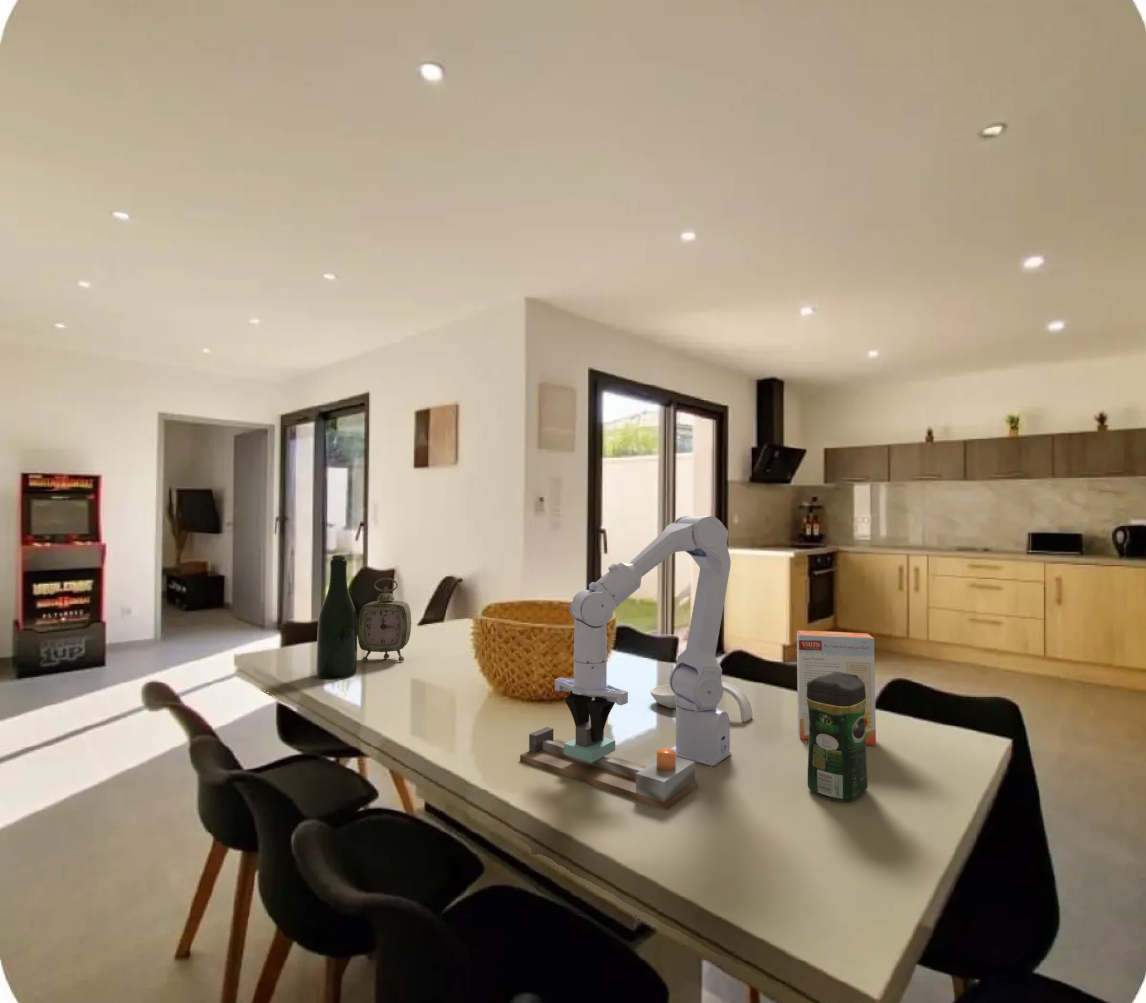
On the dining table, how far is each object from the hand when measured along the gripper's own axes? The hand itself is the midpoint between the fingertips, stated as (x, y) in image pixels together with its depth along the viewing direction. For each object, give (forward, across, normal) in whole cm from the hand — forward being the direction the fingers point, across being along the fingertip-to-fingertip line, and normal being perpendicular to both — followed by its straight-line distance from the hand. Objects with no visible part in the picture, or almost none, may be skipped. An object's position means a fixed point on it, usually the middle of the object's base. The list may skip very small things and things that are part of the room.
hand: (589, 738), depth 108 cm
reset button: (+1, +15, 0) cm, 15 cm away
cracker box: (+5, +29, +43) cm, 52 cm away
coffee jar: (+5, +36, +18) cm, 41 cm away
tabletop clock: (+5, -97, +26) cm, 100 cm away
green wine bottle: (+5, -92, +7) cm, 92 cm away
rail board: (+5, +3, 0) cm, 6 cm away
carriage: (+2, 0, 0) cm, 2 cm away
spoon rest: (+6, 0, +43) cm, 43 cm away
